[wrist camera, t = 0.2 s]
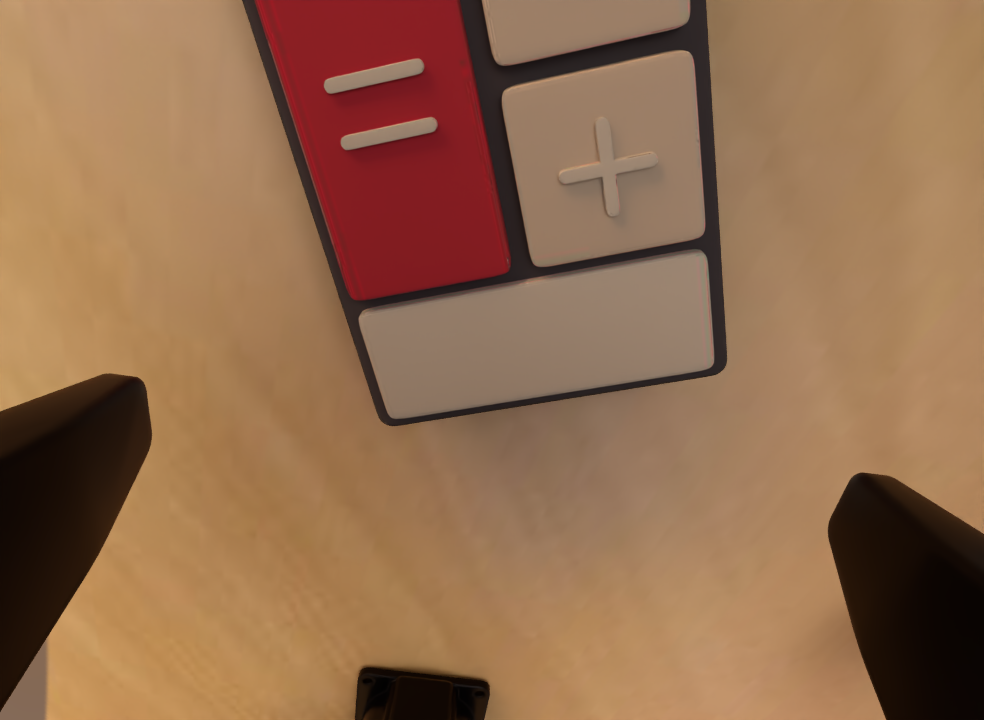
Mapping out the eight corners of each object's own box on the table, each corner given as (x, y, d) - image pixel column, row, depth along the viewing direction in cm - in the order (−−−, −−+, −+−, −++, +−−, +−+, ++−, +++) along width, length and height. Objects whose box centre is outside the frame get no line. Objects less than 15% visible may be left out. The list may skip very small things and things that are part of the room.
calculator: (701, -272, 13) (736, 387, 20) (660, -206, 17) (701, 327, 24) (184, -130, 15) (376, 443, 21) (254, -98, 18) (398, 378, 25)
